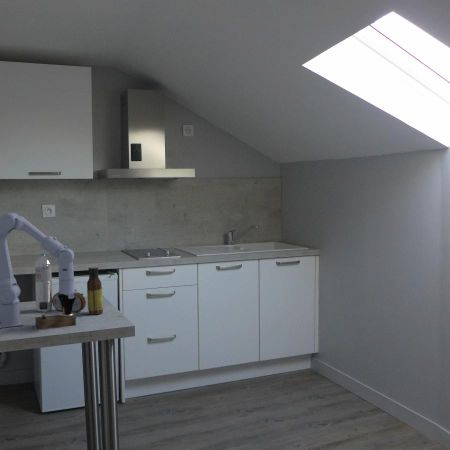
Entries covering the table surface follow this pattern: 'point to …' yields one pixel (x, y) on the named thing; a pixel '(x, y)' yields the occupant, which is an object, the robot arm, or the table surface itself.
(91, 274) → the sauce bottle
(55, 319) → the stand
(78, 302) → the tin
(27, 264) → the table surface
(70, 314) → the copper plunger
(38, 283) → the water bottle
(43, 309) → the chrome threaded knob
